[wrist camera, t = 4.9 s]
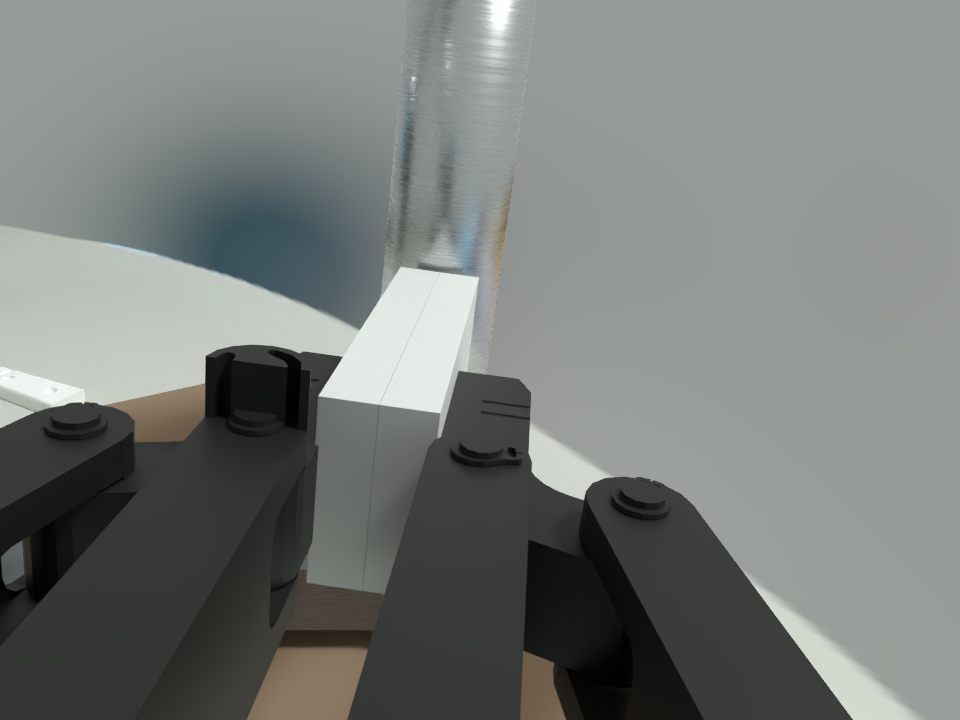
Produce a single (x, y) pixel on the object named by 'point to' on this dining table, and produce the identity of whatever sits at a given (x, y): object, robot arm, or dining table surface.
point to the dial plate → (312, 653)
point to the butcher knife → (36, 391)
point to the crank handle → (439, 196)
